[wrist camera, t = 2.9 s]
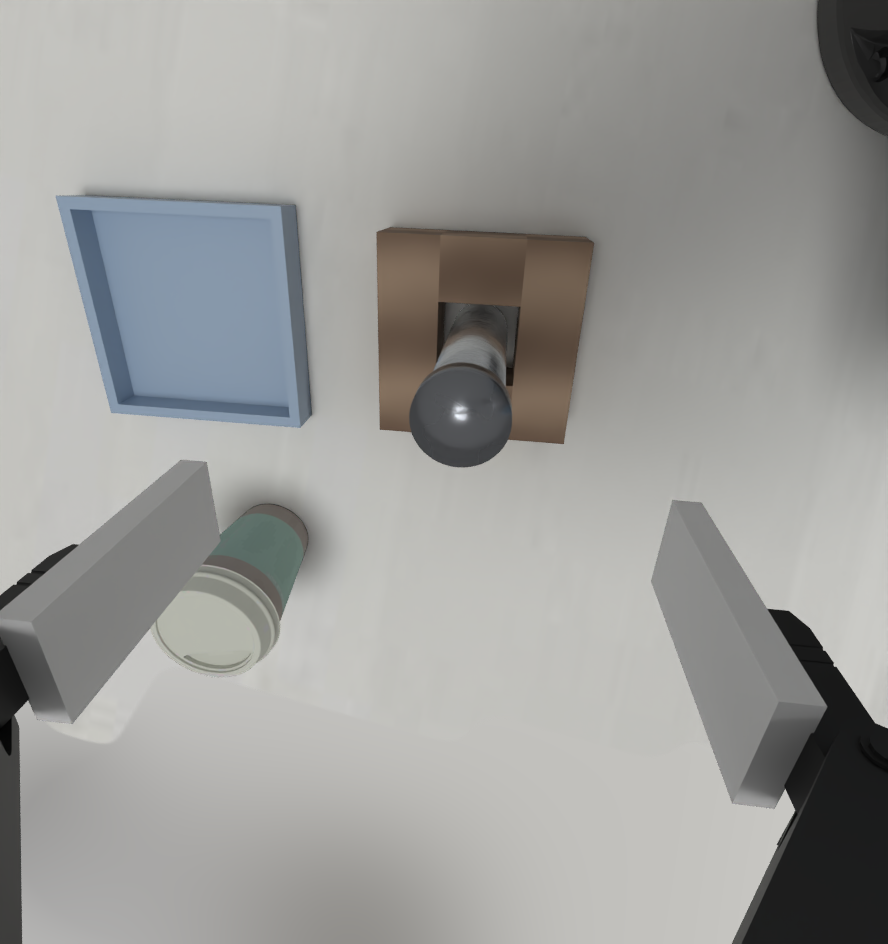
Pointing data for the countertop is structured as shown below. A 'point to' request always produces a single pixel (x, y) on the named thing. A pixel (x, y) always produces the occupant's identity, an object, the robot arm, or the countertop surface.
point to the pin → (466, 392)
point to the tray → (193, 306)
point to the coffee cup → (235, 595)
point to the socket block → (488, 283)
